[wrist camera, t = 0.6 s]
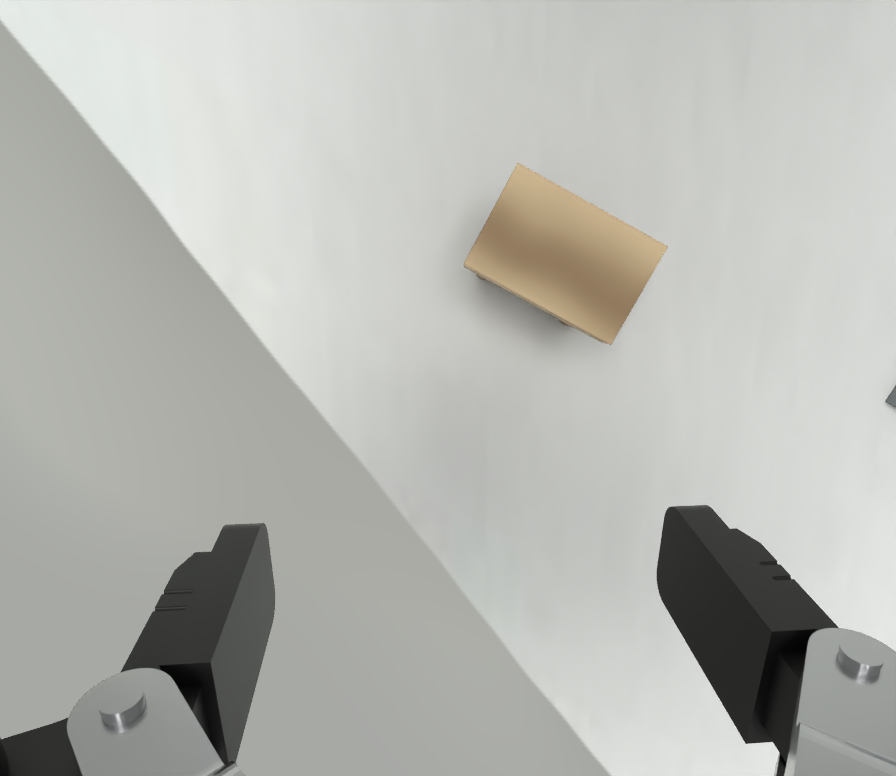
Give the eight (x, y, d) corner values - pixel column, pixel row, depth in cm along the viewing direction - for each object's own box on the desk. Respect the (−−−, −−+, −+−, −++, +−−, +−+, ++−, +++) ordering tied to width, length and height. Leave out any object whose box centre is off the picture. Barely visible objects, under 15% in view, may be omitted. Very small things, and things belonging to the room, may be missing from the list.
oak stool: (505, 197, 38) (517, 162, 29) (619, 260, 38) (667, 246, 29) (464, 273, 39) (463, 263, 29) (576, 335, 39) (611, 344, 30)
